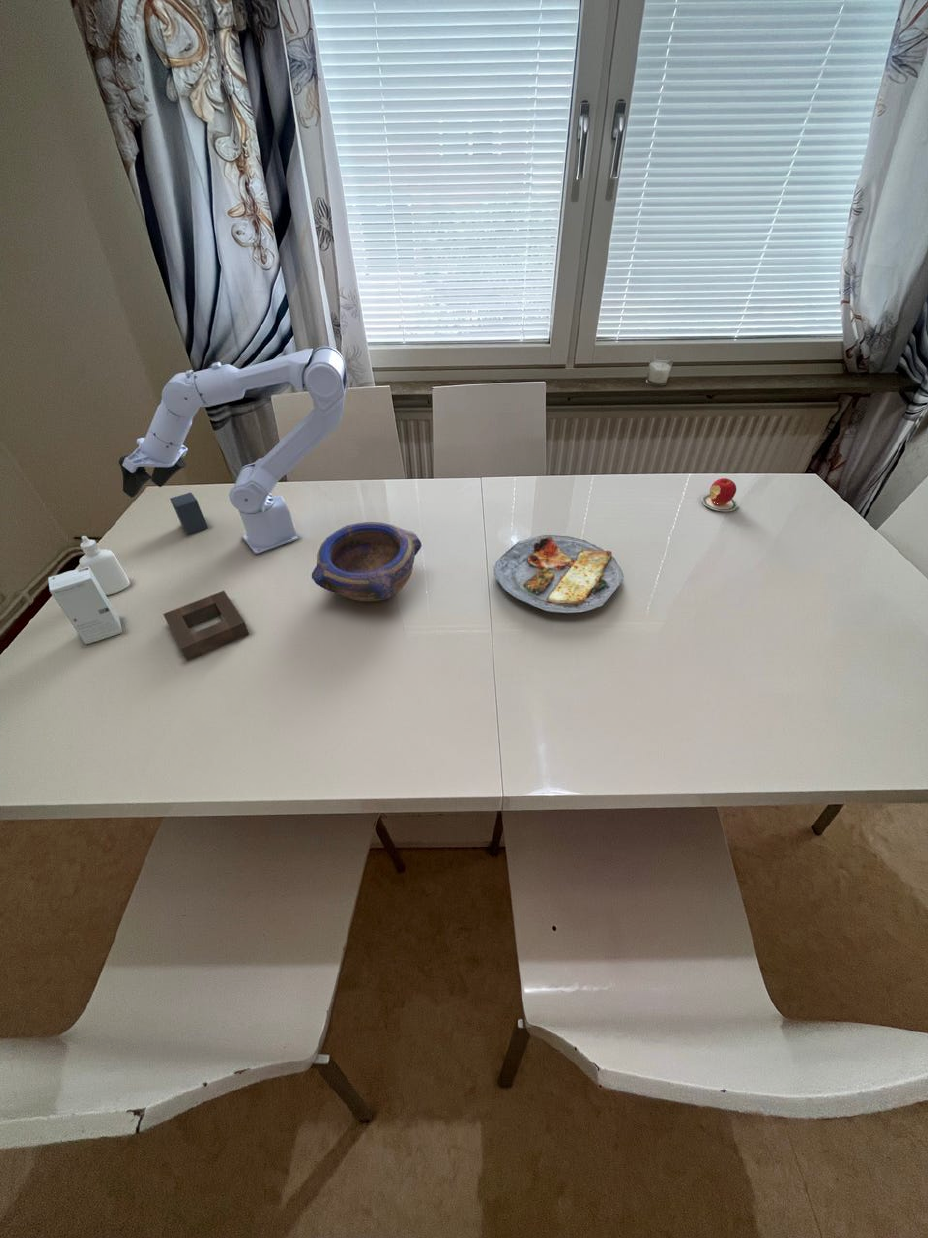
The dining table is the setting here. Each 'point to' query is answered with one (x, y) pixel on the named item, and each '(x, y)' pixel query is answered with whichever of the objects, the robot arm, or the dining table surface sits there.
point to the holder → (211, 635)
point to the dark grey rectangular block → (189, 513)
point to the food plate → (559, 573)
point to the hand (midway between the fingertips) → (142, 488)
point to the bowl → (366, 561)
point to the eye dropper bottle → (103, 567)
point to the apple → (721, 495)
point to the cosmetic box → (85, 604)
